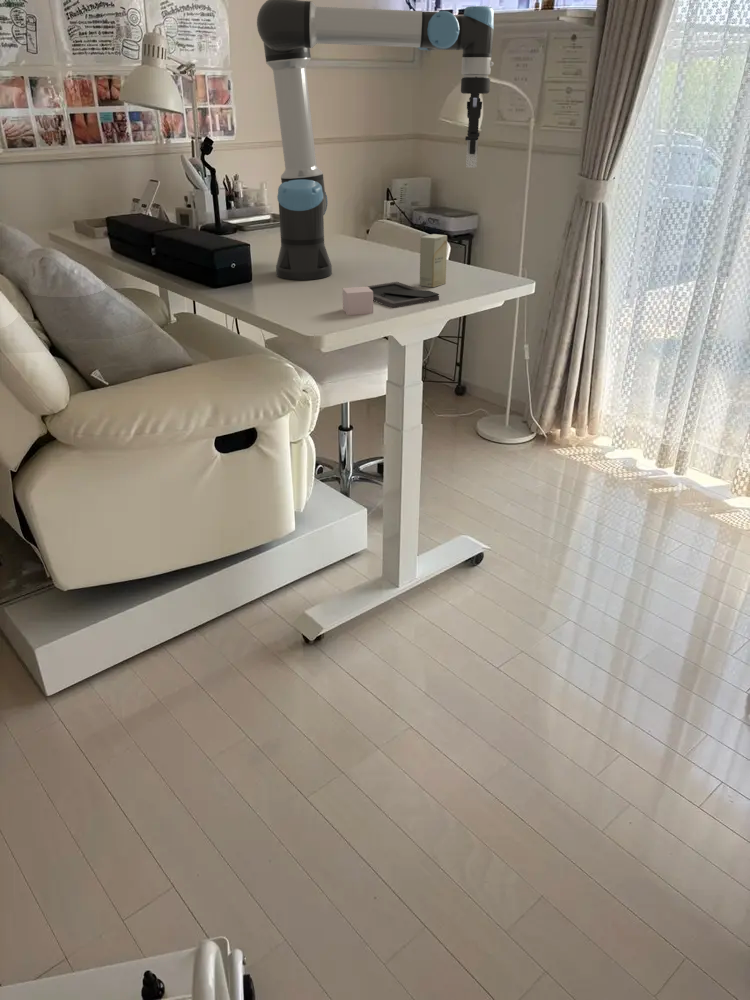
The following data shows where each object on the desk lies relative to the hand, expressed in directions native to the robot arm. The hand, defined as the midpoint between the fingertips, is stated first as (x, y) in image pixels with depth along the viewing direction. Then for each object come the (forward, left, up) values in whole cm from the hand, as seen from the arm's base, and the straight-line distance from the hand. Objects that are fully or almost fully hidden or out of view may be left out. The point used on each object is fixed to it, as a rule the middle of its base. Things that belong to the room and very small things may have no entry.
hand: (471, 165), depth 215 cm
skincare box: (-14, -25, -26) cm, 39 cm away
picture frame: (-25, -36, -27) cm, 51 cm away
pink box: (-35, -49, -26) cm, 66 cm away
